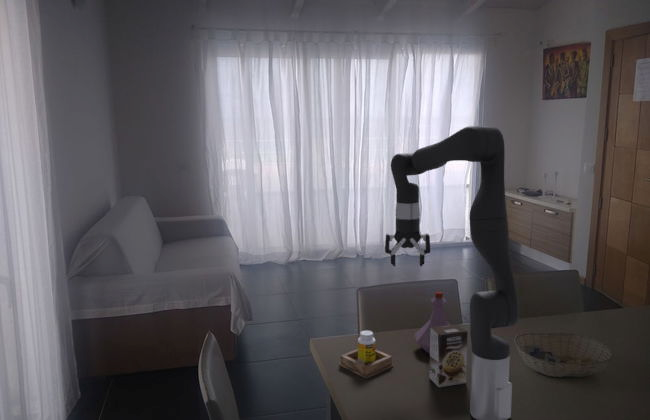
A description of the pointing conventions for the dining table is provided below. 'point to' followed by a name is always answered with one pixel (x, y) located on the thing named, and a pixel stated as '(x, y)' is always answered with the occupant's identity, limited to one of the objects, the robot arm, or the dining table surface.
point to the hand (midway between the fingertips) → (407, 265)
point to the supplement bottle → (366, 348)
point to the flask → (432, 321)
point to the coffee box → (448, 355)
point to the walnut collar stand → (368, 370)
